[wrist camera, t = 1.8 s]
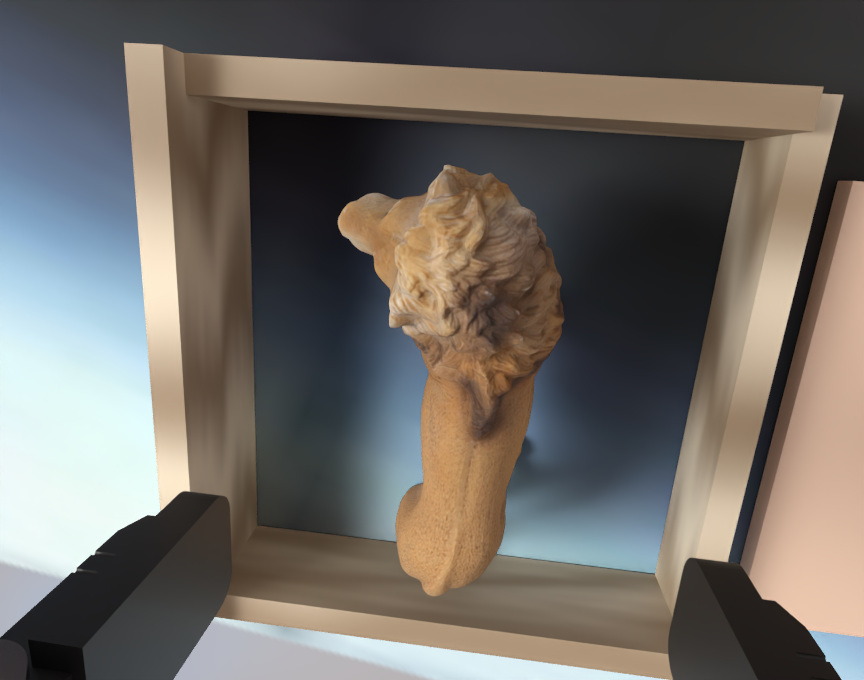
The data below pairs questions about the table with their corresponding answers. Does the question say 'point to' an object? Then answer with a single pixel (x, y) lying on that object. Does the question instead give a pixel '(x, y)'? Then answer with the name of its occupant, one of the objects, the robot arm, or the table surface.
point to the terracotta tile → (820, 446)
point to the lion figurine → (463, 354)
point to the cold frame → (234, 359)
